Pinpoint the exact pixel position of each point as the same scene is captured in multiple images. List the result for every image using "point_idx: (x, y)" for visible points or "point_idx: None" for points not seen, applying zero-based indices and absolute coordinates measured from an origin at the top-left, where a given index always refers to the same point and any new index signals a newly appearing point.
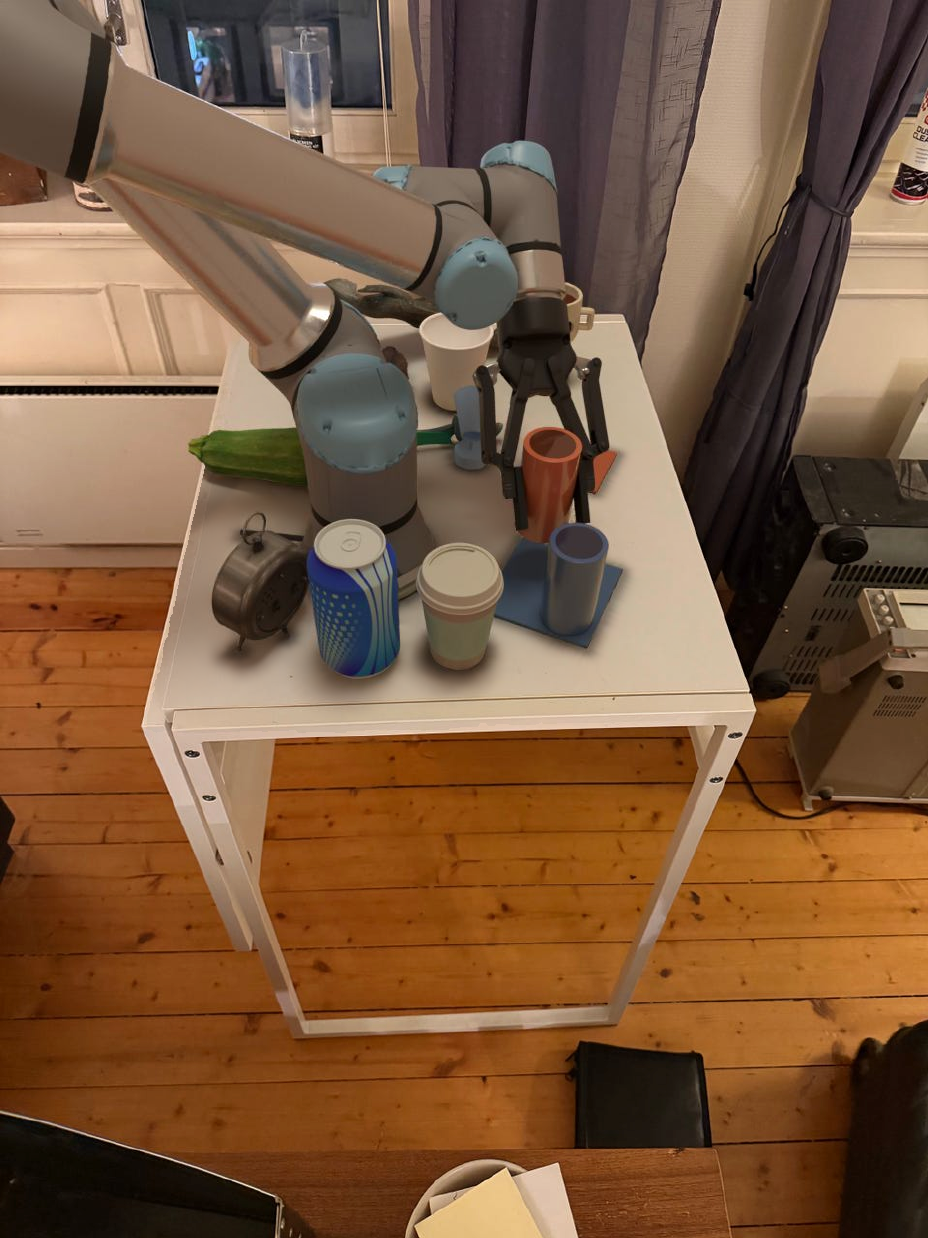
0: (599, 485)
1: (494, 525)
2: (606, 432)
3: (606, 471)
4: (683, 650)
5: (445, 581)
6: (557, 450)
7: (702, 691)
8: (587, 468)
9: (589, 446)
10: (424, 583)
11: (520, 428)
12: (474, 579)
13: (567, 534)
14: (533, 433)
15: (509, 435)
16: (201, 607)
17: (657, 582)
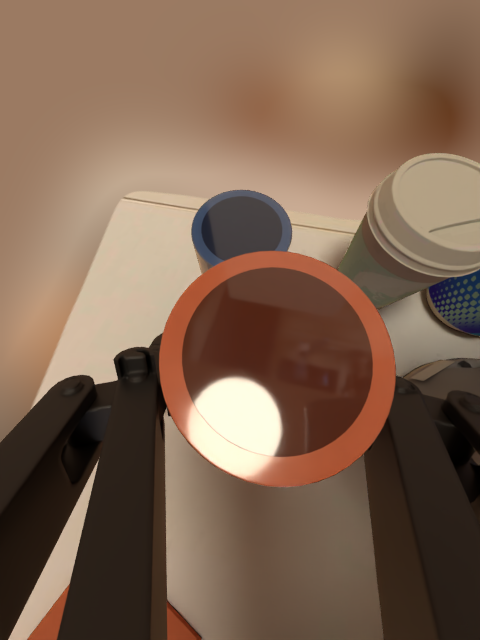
0: None
1: (286, 488)
2: (22, 425)
3: (57, 600)
4: (141, 243)
5: (474, 184)
6: (270, 306)
7: (149, 203)
8: (157, 362)
9: (122, 391)
10: None
11: (407, 486)
12: (429, 180)
13: (256, 246)
14: (343, 441)
15: (444, 463)
16: None
17: (117, 331)
